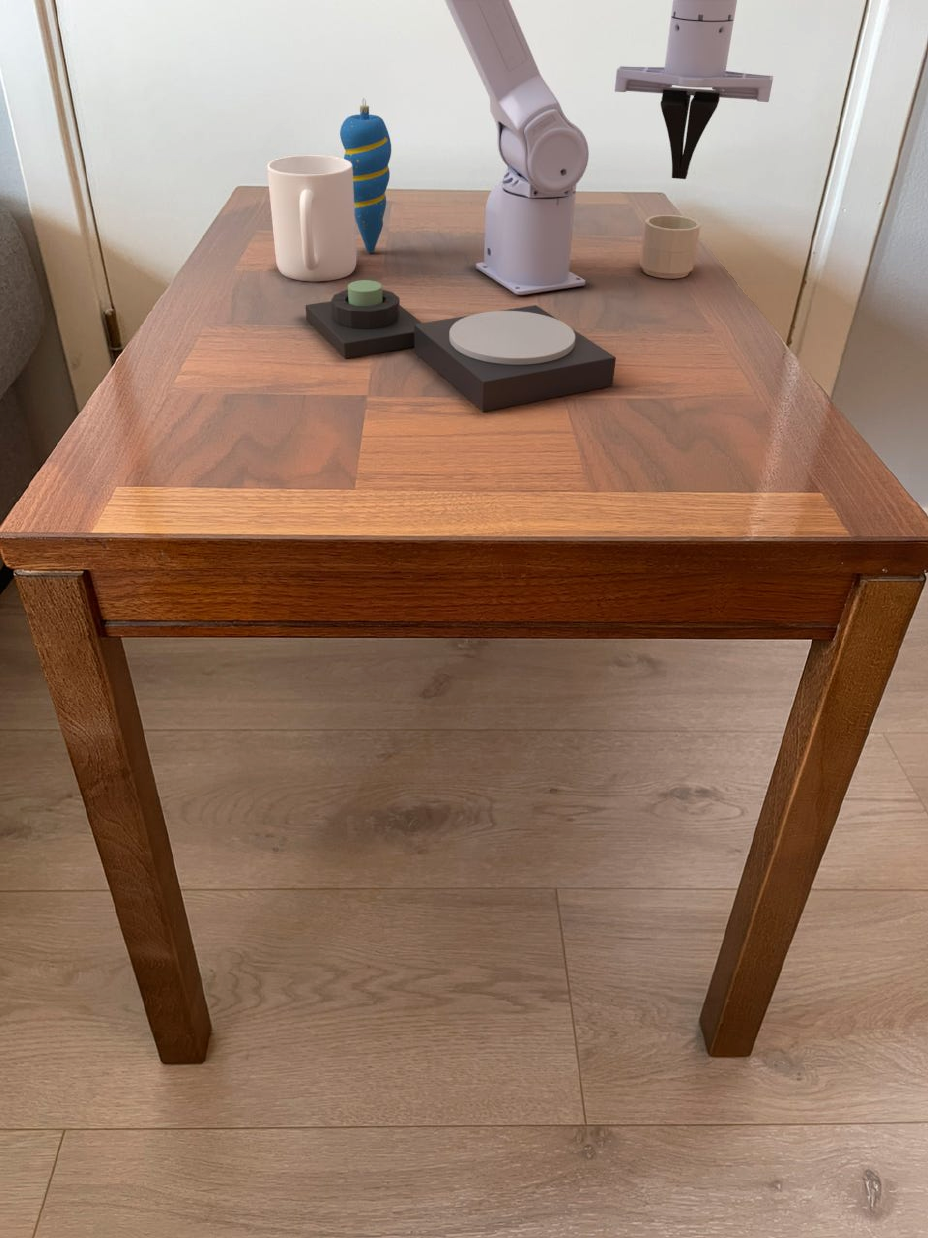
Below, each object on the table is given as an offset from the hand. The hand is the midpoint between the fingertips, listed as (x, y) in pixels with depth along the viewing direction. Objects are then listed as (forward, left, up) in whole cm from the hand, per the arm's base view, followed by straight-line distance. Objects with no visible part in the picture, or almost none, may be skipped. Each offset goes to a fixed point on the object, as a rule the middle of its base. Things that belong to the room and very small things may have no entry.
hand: (679, 176), depth 98 cm
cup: (-13, -35, -10) cm, 38 cm away
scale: (+16, -28, -9) cm, 33 cm away
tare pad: (+3, -36, -9) cm, 37 cm away
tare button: (+3, -36, -7) cm, 36 cm away
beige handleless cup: (0, 0, -9) cm, 9 cm away
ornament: (-18, -27, -10) cm, 33 cm away
